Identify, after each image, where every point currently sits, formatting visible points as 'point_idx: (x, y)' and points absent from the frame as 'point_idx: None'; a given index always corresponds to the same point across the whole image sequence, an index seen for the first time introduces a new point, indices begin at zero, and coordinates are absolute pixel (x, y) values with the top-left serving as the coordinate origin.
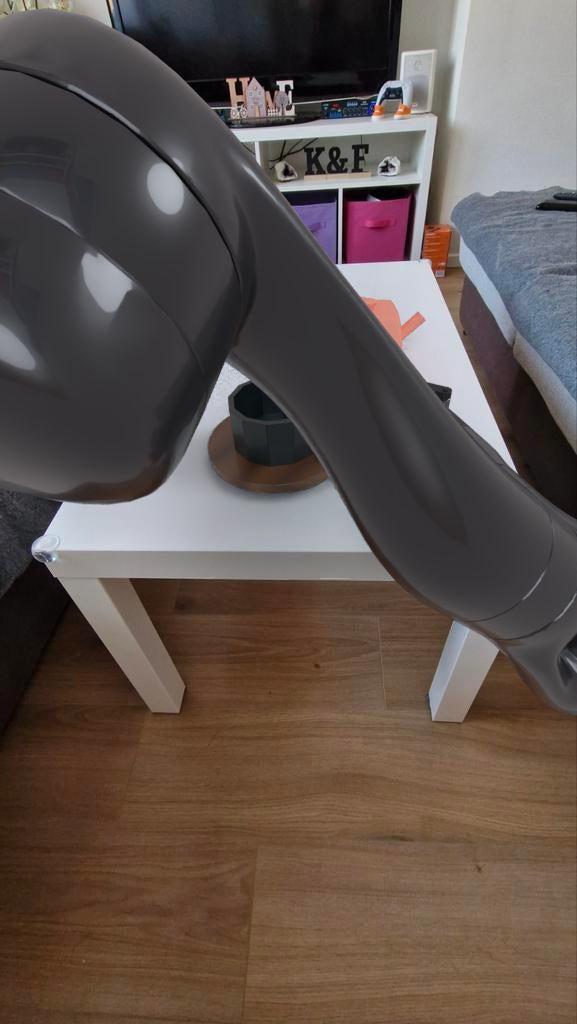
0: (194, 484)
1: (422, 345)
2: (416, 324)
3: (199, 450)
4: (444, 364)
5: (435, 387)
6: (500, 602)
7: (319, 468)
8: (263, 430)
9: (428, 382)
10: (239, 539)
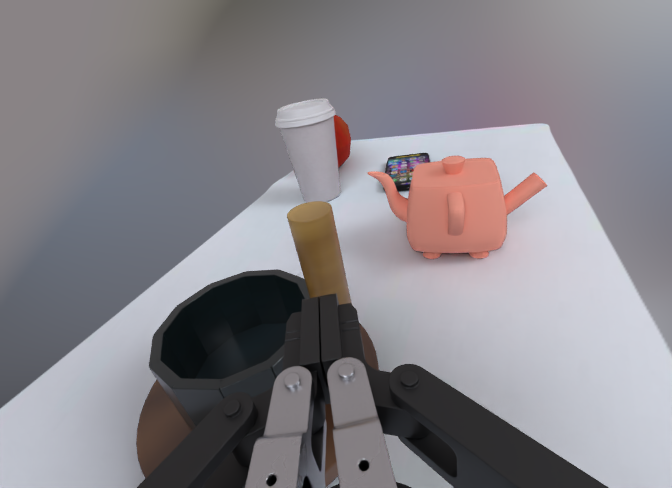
0: (113, 442)
1: (544, 218)
2: (530, 191)
3: None
4: (581, 250)
5: (551, 478)
6: None
7: None
8: (174, 394)
9: (520, 431)
10: None
